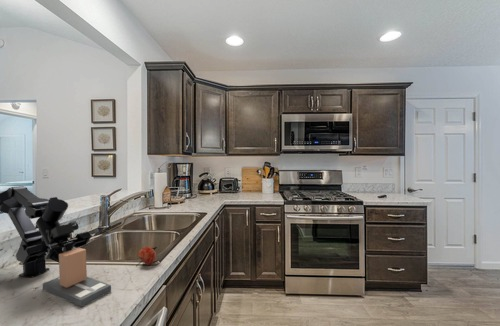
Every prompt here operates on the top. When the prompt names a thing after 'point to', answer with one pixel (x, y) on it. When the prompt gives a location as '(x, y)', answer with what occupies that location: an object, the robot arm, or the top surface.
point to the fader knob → (72, 267)
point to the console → (78, 290)
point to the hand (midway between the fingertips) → (69, 266)
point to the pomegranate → (147, 255)
